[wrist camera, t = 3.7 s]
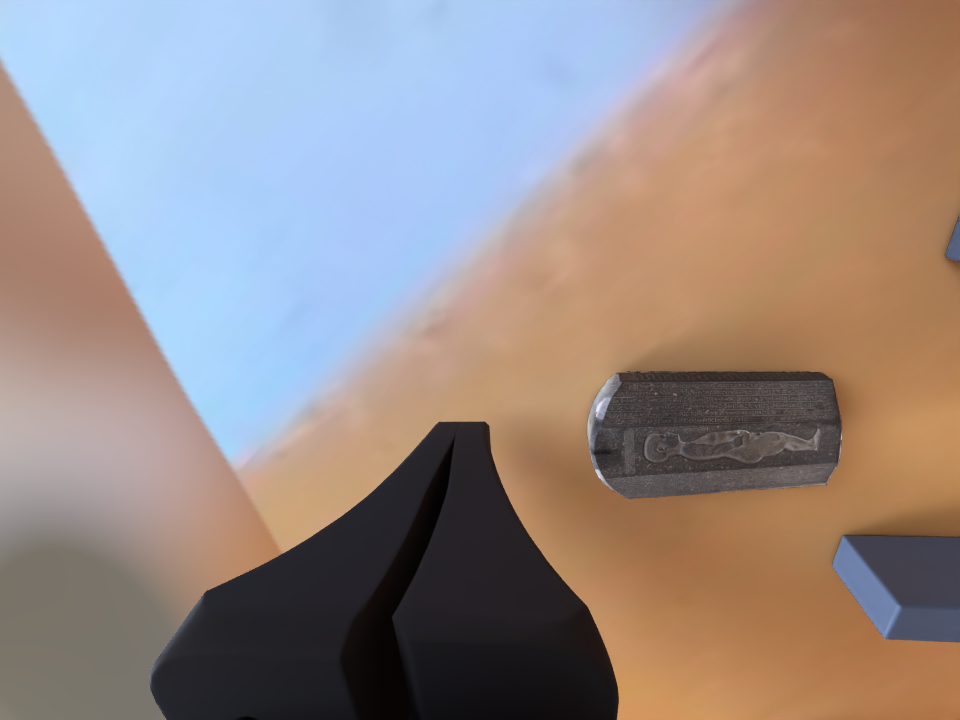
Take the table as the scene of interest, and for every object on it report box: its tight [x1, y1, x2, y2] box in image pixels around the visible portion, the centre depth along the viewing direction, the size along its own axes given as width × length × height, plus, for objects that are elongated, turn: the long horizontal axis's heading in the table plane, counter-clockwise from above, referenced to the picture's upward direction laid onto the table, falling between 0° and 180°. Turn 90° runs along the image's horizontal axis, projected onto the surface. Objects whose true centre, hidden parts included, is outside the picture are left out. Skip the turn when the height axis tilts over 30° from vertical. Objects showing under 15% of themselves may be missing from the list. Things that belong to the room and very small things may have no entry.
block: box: [587, 371, 842, 499], centre depth 12 cm, size 4×6×2 cm, turn 102°
